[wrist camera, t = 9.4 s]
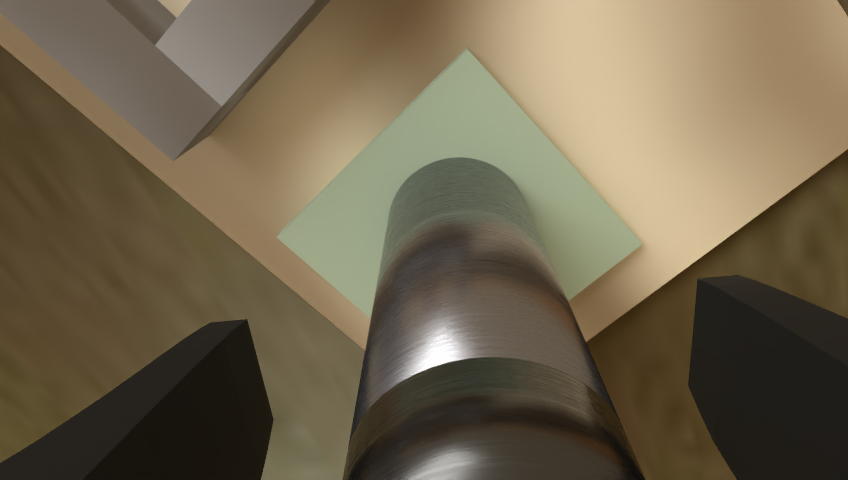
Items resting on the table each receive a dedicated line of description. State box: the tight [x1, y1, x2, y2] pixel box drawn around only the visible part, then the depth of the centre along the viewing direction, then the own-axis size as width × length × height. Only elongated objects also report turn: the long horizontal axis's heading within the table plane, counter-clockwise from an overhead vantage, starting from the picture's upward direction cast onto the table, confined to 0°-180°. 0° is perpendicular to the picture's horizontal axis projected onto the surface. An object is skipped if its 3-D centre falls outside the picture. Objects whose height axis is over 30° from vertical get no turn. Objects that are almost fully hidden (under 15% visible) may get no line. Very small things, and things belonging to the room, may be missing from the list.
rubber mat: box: [277, 48, 642, 319], centre depth 14 cm, size 6×6×1 cm
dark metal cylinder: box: [343, 157, 645, 480], centre depth 9 cm, size 3×3×9 cm
